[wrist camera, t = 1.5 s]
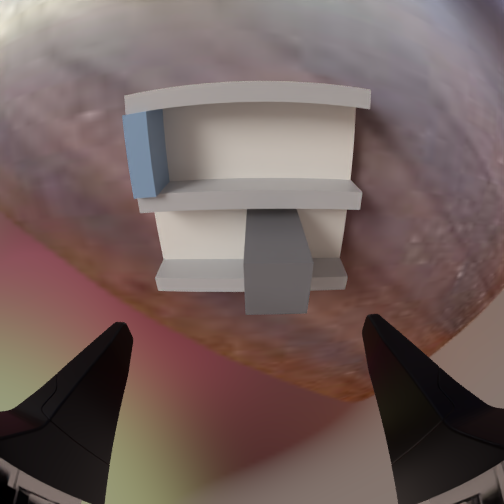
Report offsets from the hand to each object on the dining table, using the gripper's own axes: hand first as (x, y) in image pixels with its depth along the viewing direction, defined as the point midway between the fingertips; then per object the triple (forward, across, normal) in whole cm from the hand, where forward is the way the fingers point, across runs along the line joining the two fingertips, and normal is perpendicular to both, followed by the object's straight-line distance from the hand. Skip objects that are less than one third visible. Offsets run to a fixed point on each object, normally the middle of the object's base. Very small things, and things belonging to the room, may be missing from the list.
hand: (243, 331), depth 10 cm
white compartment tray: (+12, 0, -2) cm, 13 cm away
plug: (+12, -2, +2) cm, 12 cm away
